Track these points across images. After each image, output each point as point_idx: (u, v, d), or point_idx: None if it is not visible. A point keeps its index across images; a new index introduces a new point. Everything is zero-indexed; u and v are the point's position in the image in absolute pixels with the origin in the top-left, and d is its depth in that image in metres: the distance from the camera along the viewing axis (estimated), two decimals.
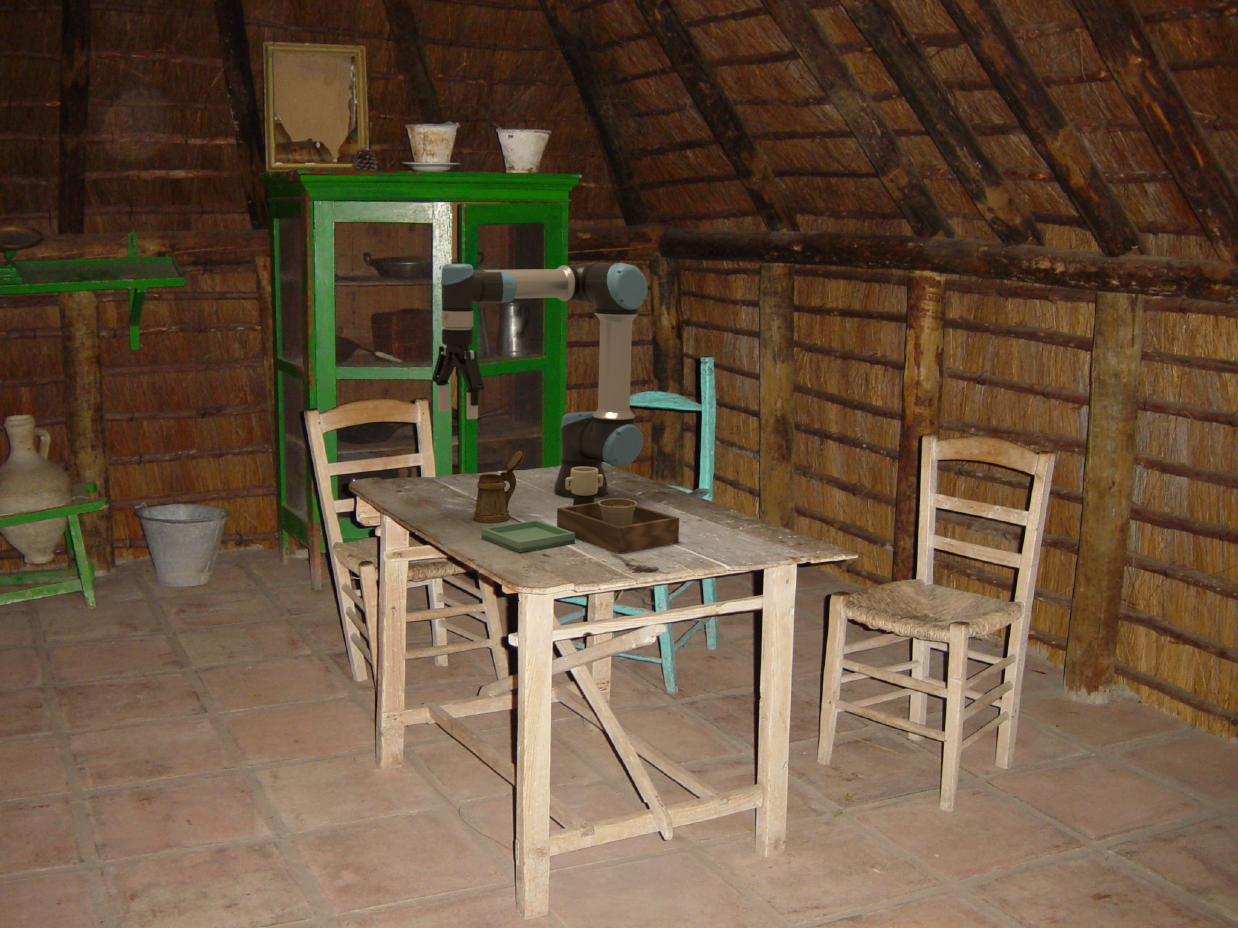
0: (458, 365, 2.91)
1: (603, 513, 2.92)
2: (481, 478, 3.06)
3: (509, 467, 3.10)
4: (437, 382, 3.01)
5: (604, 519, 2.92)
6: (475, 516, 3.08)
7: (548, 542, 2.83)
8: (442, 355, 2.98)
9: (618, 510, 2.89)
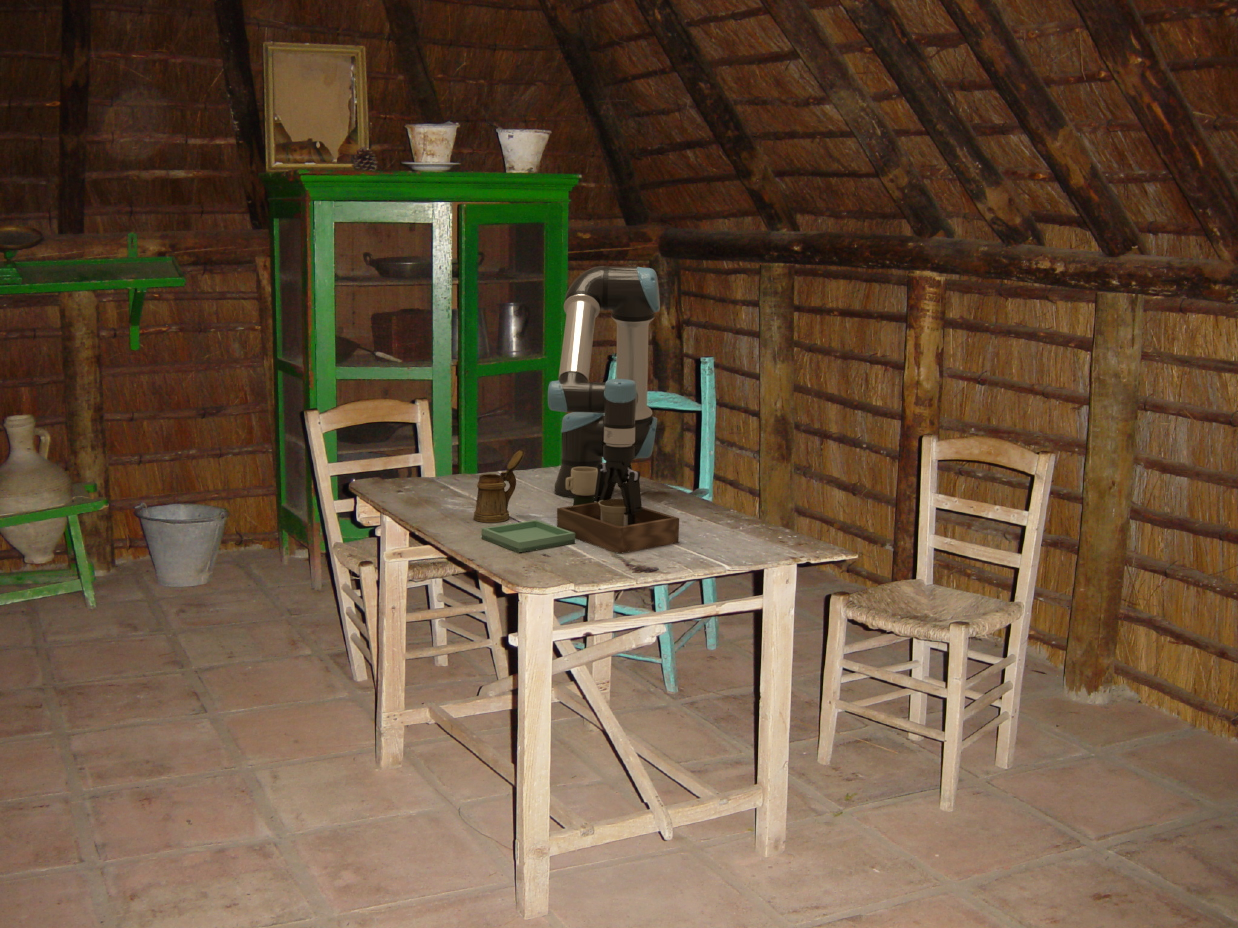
0: (619, 483, 2.89)
1: (603, 513, 2.92)
2: (481, 478, 3.06)
3: (509, 467, 3.10)
4: None
5: (604, 519, 2.92)
6: (475, 516, 3.08)
7: (548, 542, 2.83)
8: (602, 472, 2.95)
9: (618, 510, 2.89)
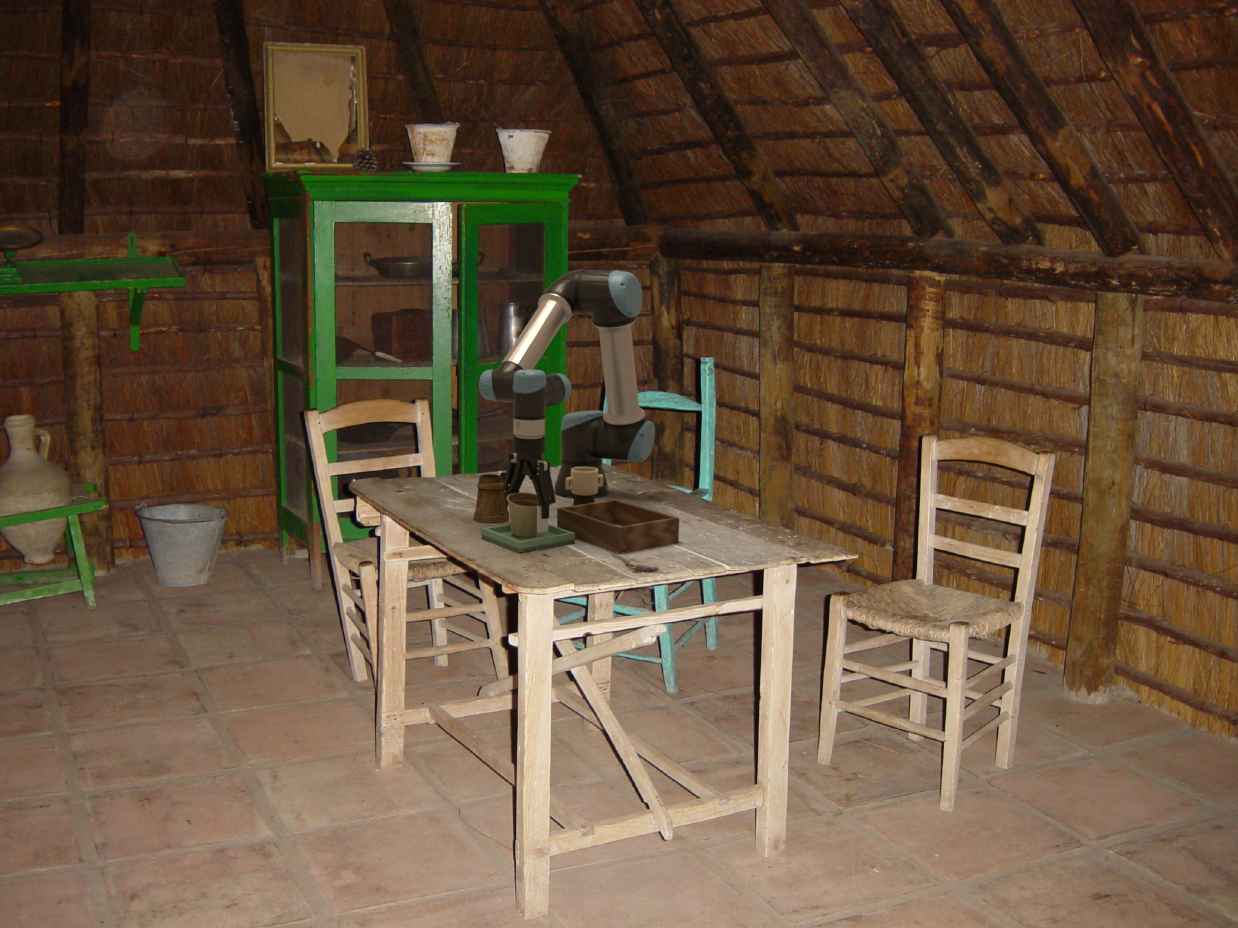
0: (530, 475, 2.83)
1: (511, 509, 2.87)
2: (481, 478, 3.06)
3: None
4: (508, 492, 2.91)
5: (511, 515, 2.87)
6: (475, 516, 3.08)
7: (548, 542, 2.83)
8: (512, 463, 2.90)
9: (525, 509, 2.84)
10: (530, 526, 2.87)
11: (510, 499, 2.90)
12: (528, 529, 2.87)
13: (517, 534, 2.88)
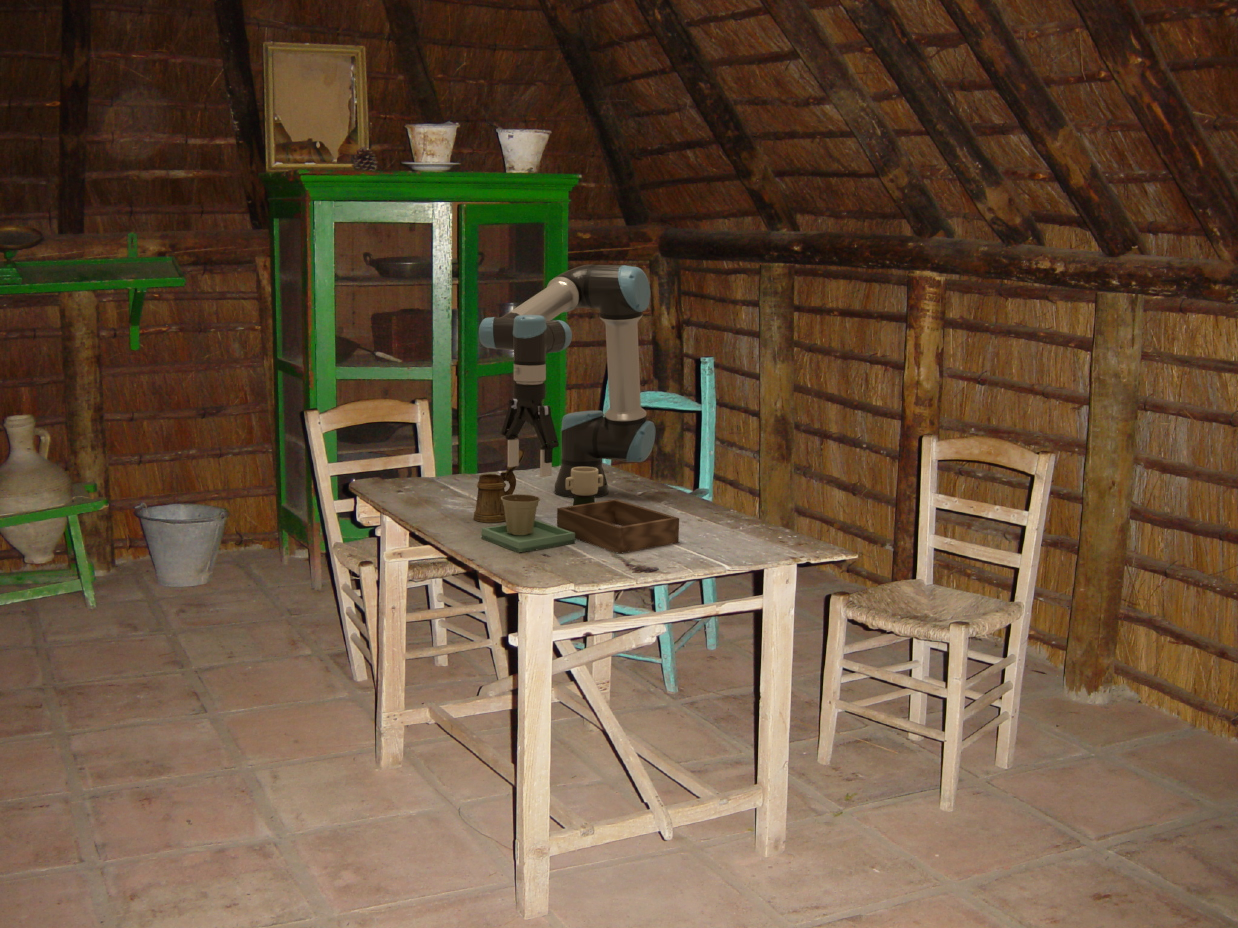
0: (531, 421, 2.80)
1: (505, 508, 2.89)
2: (481, 478, 3.06)
3: (509, 467, 3.10)
4: (507, 436, 2.90)
5: (506, 514, 2.89)
6: (475, 516, 3.08)
7: (548, 542, 2.83)
8: (512, 409, 2.87)
9: (520, 505, 2.86)
10: (525, 523, 2.88)
11: None
12: (524, 526, 2.89)
13: (513, 533, 2.89)
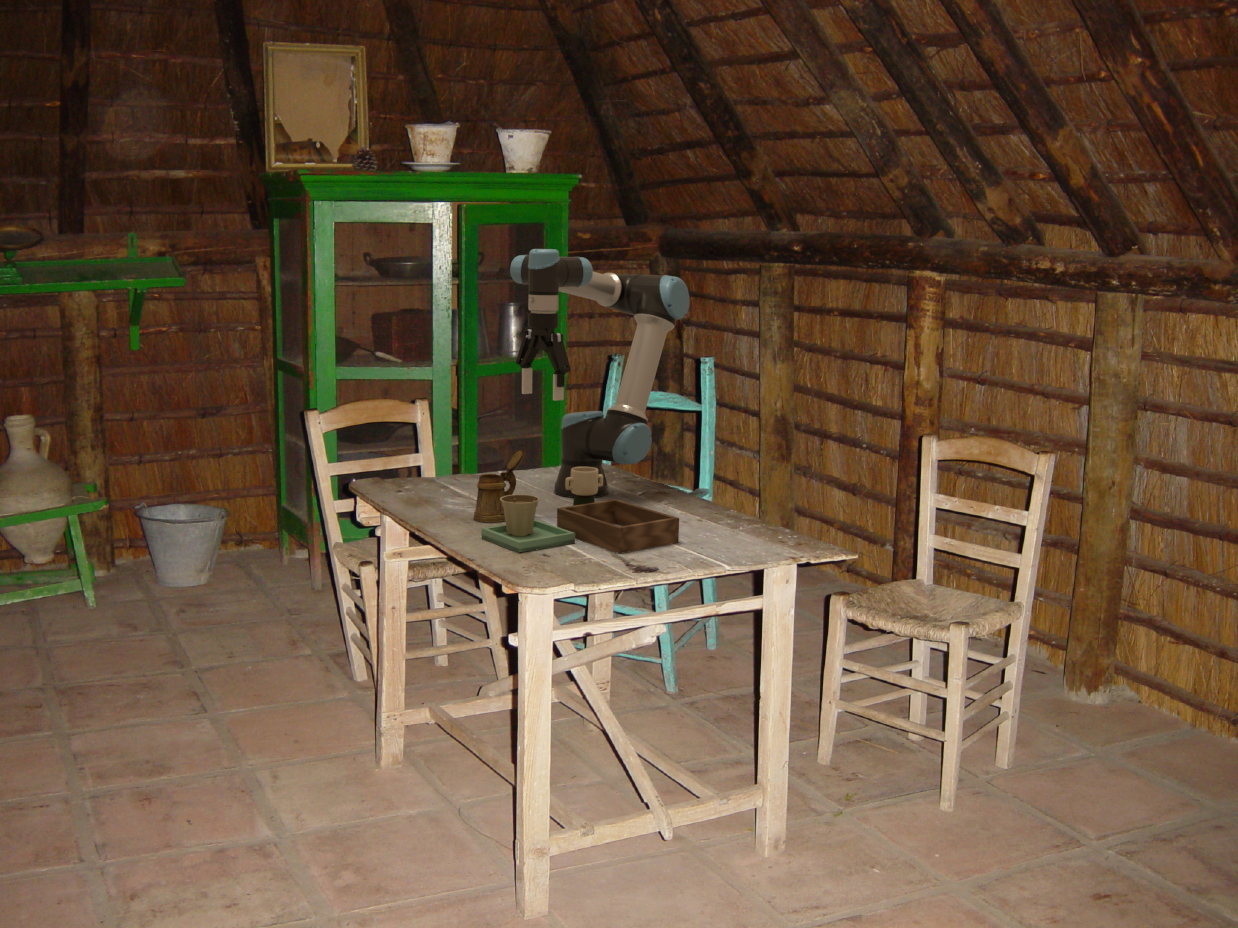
0: (544, 348, 2.99)
1: (505, 509, 2.89)
2: (481, 478, 3.06)
3: (509, 467, 3.10)
4: (521, 365, 3.08)
5: (506, 515, 2.89)
6: (475, 516, 3.08)
7: (548, 542, 2.83)
8: (527, 338, 3.06)
9: (519, 506, 2.86)
10: (525, 524, 2.88)
11: (504, 501, 2.92)
12: (524, 527, 2.89)
13: (513, 534, 2.89)
